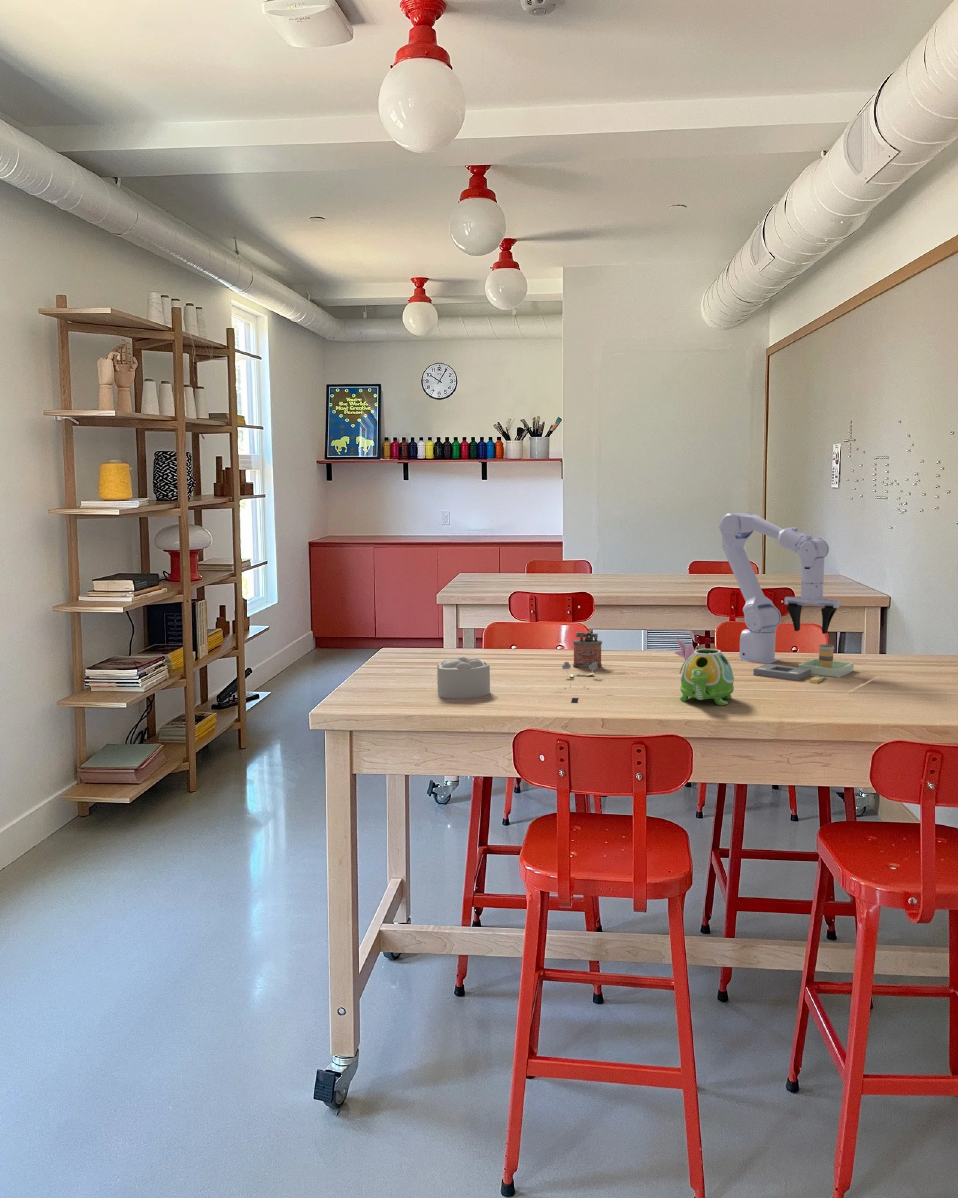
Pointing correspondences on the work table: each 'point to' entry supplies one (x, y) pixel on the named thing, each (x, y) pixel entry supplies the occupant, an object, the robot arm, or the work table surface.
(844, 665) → the parts tray
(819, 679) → the puller tool
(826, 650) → the fuse
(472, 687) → the lumpy-topped squat cylinder
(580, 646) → the lighter
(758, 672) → the fuse block
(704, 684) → the turtle holder
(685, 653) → the lily
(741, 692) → the work table surface
